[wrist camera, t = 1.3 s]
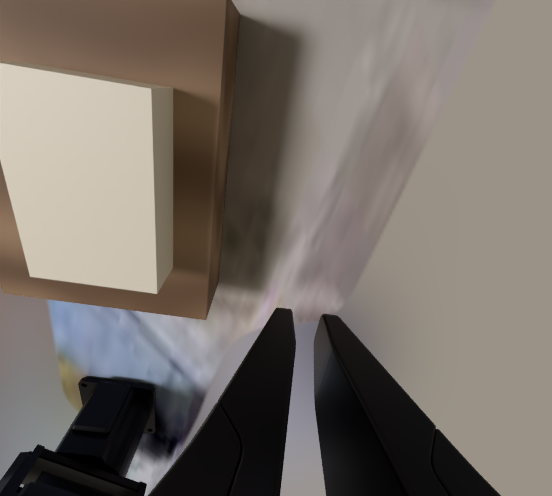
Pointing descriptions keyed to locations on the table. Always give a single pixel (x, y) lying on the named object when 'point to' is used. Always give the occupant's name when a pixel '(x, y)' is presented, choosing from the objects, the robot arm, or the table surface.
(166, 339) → the table surface
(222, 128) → the brown box
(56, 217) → the cream rectangular block
